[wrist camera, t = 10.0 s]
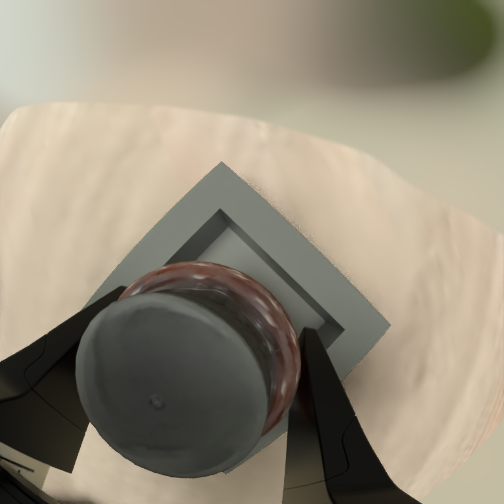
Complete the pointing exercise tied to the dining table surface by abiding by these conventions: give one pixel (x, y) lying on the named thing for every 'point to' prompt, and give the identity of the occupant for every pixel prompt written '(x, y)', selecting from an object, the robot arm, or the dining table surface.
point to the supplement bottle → (188, 369)
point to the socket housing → (259, 268)
